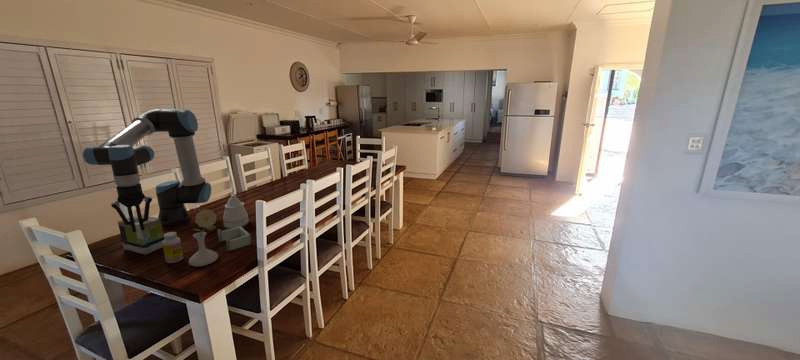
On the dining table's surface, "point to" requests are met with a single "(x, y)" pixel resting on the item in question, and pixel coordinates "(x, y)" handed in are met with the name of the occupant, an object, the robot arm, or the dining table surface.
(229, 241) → the open rectangular box
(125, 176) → the robot arm
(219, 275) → the dining table surface
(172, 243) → the supplement bottle
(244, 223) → the honey pot
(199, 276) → the dining table surface
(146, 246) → the tea box
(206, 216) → the flower in vase
